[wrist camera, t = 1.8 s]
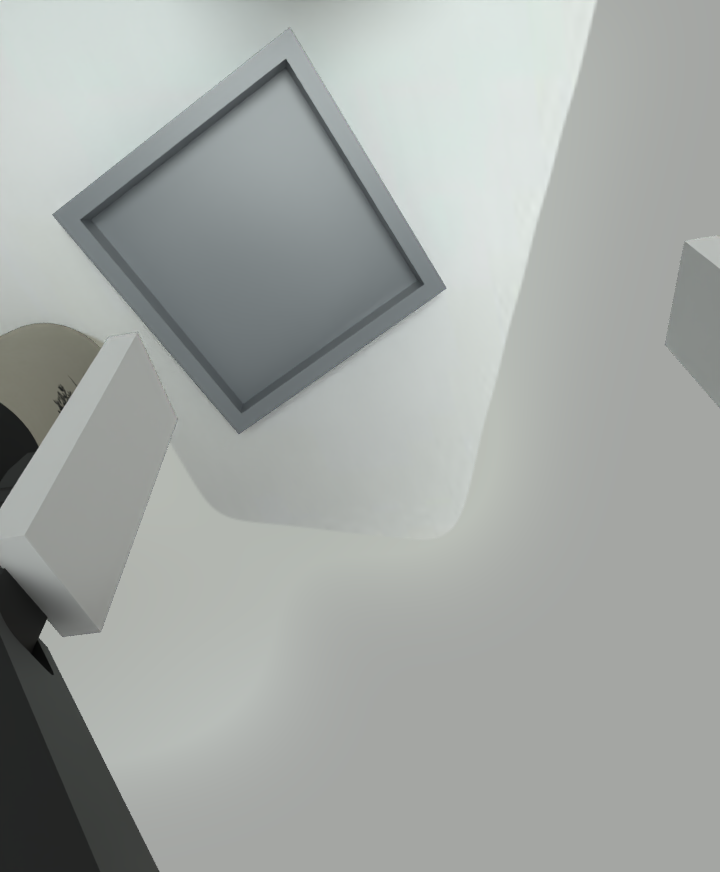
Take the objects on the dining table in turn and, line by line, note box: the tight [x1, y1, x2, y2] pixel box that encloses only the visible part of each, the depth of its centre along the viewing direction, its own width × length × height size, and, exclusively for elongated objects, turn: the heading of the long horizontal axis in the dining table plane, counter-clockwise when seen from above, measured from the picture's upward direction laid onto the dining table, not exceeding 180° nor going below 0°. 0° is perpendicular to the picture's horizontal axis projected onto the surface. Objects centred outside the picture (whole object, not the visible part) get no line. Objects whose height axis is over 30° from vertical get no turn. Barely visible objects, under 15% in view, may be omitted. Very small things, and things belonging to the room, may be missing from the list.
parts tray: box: [52, 27, 446, 434], centre depth 35 cm, size 16×16×3 cm
